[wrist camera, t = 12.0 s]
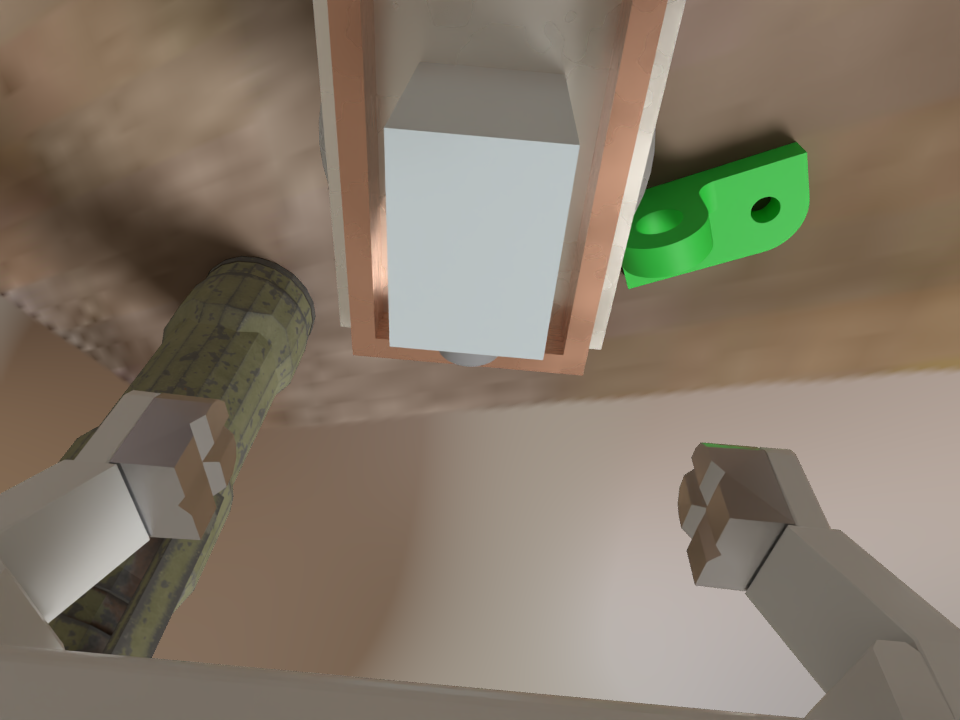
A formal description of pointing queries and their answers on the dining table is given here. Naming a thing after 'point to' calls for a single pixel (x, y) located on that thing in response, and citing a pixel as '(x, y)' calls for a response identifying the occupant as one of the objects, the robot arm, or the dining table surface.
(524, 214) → the pale grey rectangular block
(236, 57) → the dining table surface
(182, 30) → the dining table surface
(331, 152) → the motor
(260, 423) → the thermos
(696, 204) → the mechanical part
